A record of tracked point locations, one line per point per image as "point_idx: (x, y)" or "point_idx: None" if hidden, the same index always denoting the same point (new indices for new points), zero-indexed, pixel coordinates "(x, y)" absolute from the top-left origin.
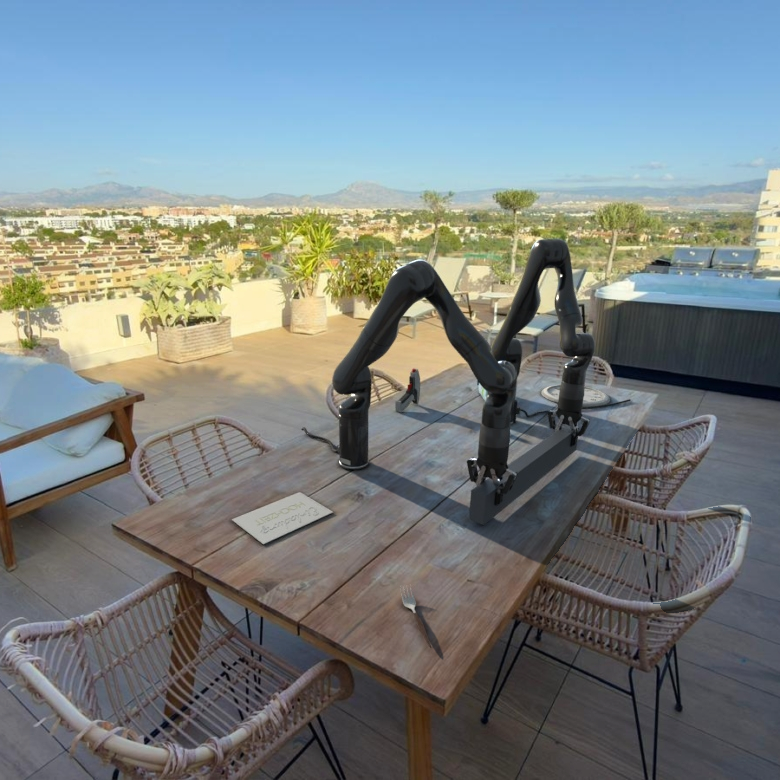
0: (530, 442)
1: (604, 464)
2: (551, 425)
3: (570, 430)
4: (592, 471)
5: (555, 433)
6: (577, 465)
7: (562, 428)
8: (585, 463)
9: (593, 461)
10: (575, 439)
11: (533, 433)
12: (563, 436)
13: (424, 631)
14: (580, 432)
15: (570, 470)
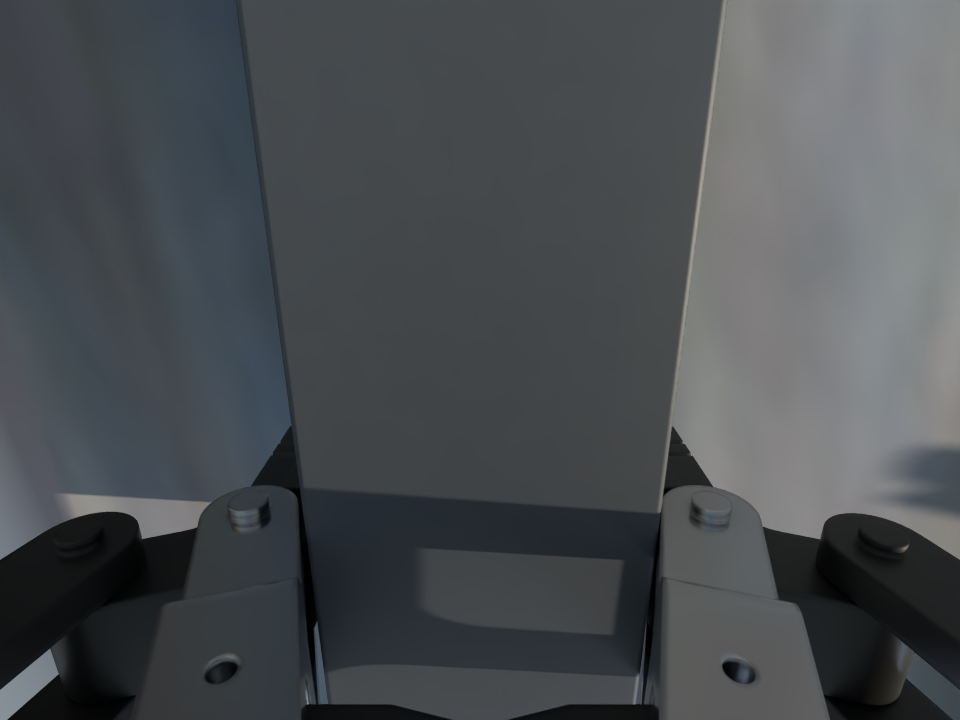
0: (917, 495)
1: (89, 478)
2: (918, 577)
3: (405, 651)
4: (61, 223)
5: (648, 188)
6: (266, 265)
7: (607, 647)
8: (232, 376)
9: (202, 474)
10: (258, 477)
11: (933, 694)
12: (336, 110)
13: None
14: (15, 589)
15: None
